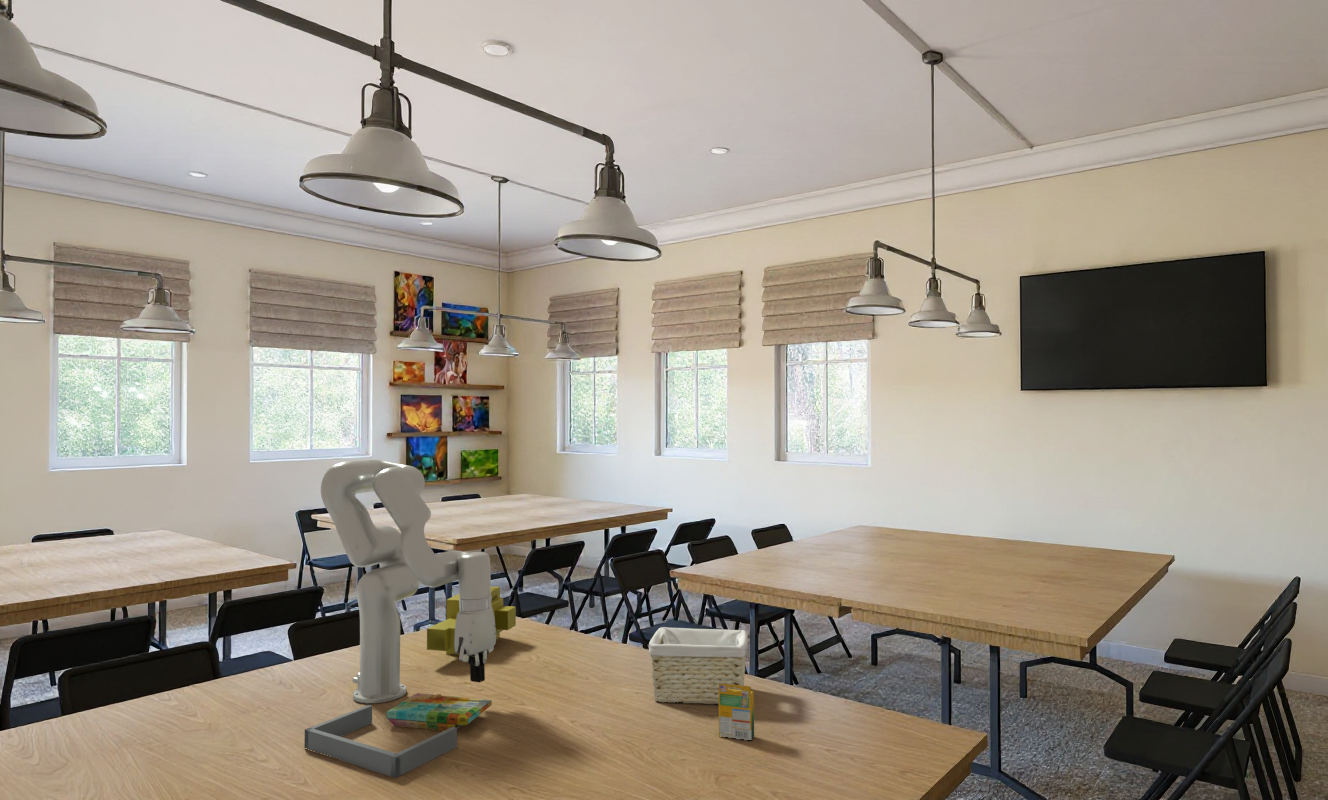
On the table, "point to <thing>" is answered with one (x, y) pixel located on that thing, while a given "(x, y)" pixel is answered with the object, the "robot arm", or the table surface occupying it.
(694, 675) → the storage basket
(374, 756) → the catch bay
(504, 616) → the toy blocks
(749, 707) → the crayon box
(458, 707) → the puzzle game
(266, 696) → the table surface
